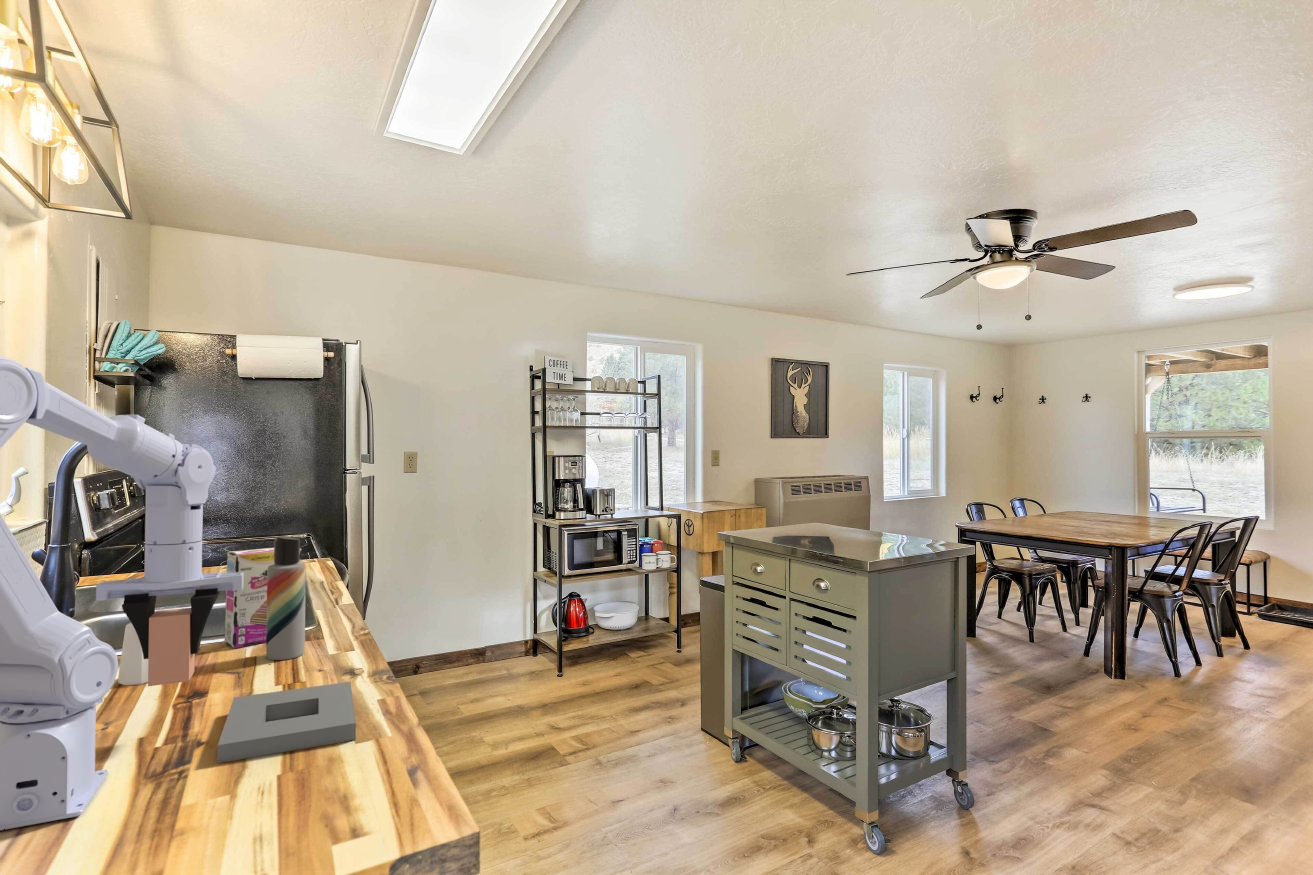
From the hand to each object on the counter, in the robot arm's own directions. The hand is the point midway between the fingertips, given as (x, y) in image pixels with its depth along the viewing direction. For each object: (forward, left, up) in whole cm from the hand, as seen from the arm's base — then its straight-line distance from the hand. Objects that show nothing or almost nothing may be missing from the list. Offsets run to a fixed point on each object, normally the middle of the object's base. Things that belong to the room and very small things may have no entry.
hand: (172, 654), depth 83 cm
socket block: (-3, -13, -10) cm, 17 cm away
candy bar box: (+42, -7, -10) cm, 44 cm away
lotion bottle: (+30, -11, -10) cm, 33 cm away
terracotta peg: (0, 0, -3) cm, 3 cm away
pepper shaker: (+26, +8, -10) cm, 29 cm away
